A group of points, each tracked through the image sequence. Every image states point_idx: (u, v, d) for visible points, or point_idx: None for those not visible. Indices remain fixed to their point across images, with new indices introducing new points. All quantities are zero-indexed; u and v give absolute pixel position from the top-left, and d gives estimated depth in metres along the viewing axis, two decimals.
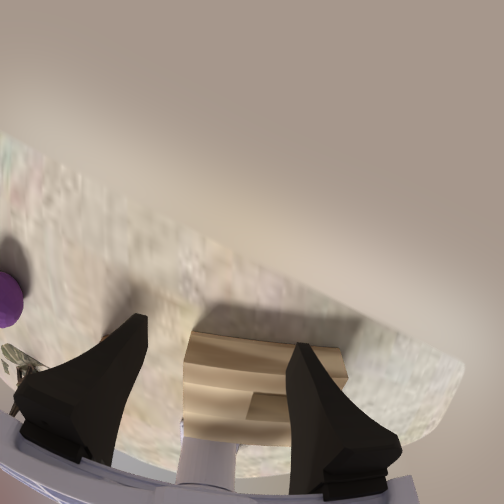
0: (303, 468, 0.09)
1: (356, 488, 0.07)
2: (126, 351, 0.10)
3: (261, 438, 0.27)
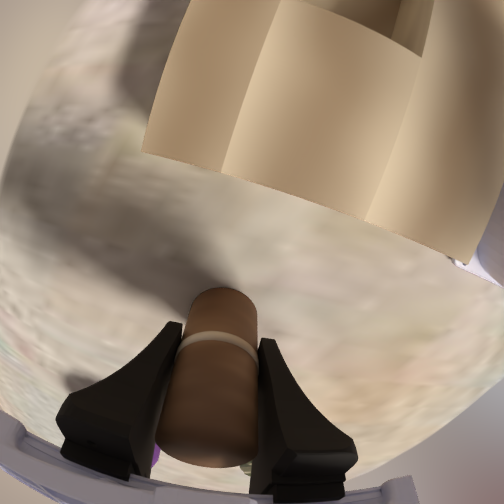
0: (259, 467, 0.09)
1: (308, 493, 0.07)
2: (166, 361, 0.10)
3: (502, 67, 0.06)
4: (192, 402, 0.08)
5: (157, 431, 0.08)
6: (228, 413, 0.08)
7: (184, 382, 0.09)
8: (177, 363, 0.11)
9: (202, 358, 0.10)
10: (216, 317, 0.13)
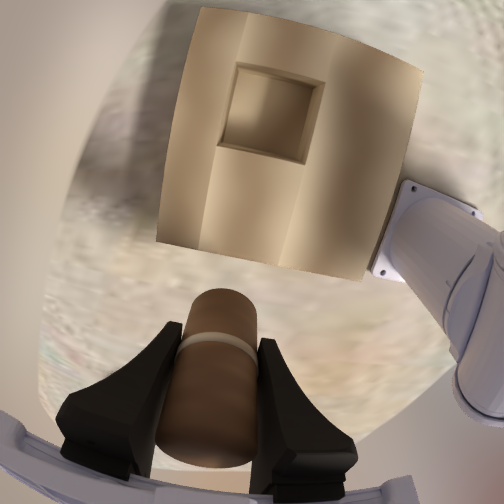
0: (259, 467, 0.09)
1: (308, 493, 0.07)
2: (166, 361, 0.10)
3: (378, 145, 0.15)
4: (191, 403, 0.08)
5: (157, 431, 0.08)
6: (227, 414, 0.08)
7: (184, 382, 0.09)
8: (177, 364, 0.11)
9: (201, 359, 0.10)
10: (216, 318, 0.13)
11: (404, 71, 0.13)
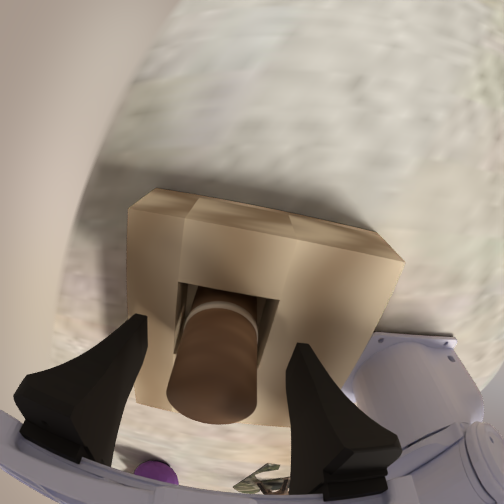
0: (303, 468, 0.09)
1: (356, 488, 0.07)
2: (126, 351, 0.10)
3: (335, 347, 0.15)
4: (200, 355, 0.10)
5: (169, 383, 0.10)
6: (231, 364, 0.10)
7: (193, 341, 0.11)
8: (186, 328, 0.13)
9: (209, 322, 0.12)
10: (220, 290, 0.15)
11: (379, 269, 0.13)
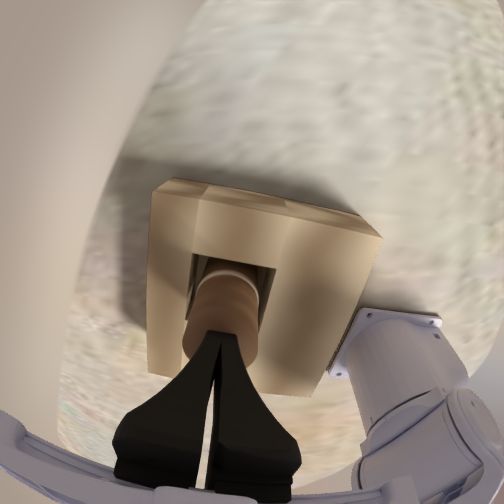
0: (209, 462, 0.08)
1: (250, 492, 0.06)
2: (213, 370, 0.11)
3: (325, 313, 0.18)
4: (212, 307, 0.13)
5: (185, 331, 0.13)
6: (237, 314, 0.13)
7: (205, 298, 0.14)
8: (199, 291, 0.16)
9: (218, 284, 0.15)
10: (227, 262, 0.18)
11: (360, 243, 0.16)
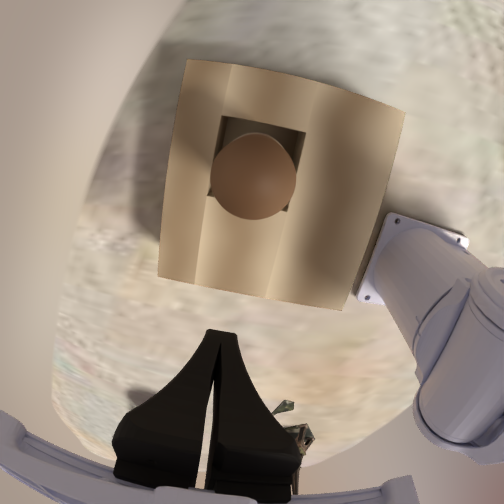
0: (209, 462, 0.08)
1: (250, 492, 0.06)
2: (213, 370, 0.11)
3: (357, 190, 0.17)
4: (245, 136, 0.12)
5: (216, 156, 0.12)
6: (273, 140, 0.12)
7: None
8: None
9: (249, 135, 0.14)
10: None
11: (385, 114, 0.15)
